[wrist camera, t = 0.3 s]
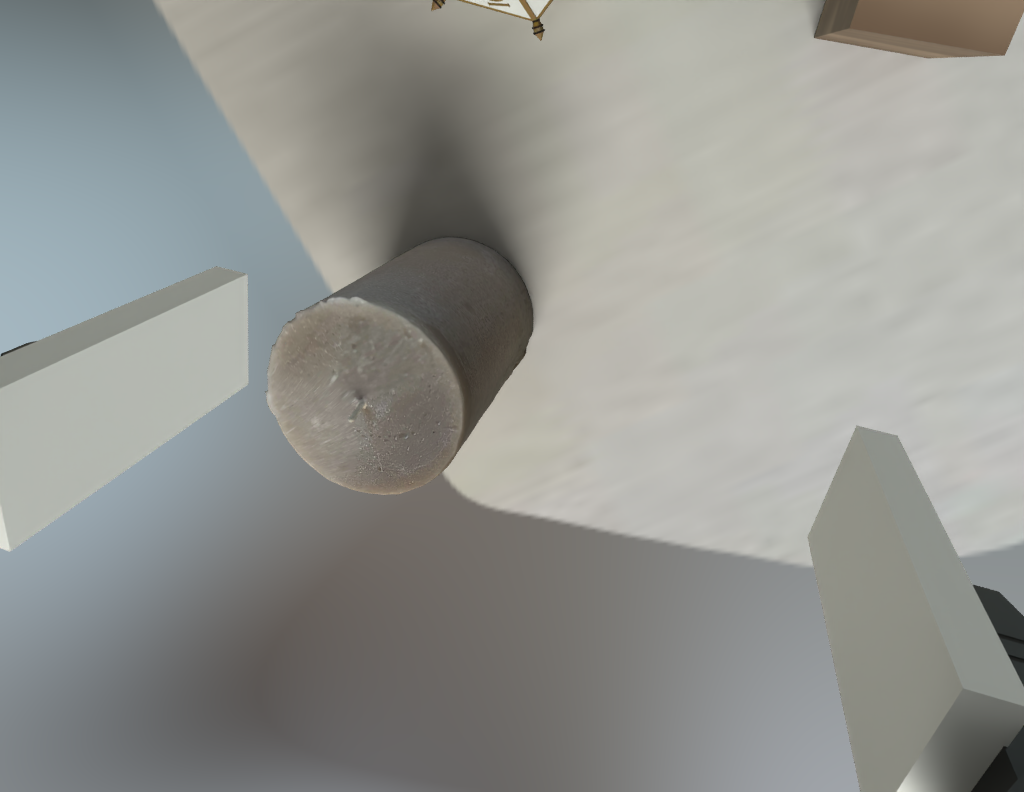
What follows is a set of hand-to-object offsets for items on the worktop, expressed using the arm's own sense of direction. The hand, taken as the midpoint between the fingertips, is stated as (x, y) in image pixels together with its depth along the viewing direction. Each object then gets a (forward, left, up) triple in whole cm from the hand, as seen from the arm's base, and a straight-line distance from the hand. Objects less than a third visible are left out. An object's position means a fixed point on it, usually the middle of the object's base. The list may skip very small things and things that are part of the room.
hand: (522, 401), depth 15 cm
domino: (-10, +9, -27) cm, 30 cm away
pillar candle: (+9, -9, -27) cm, 30 cm away
